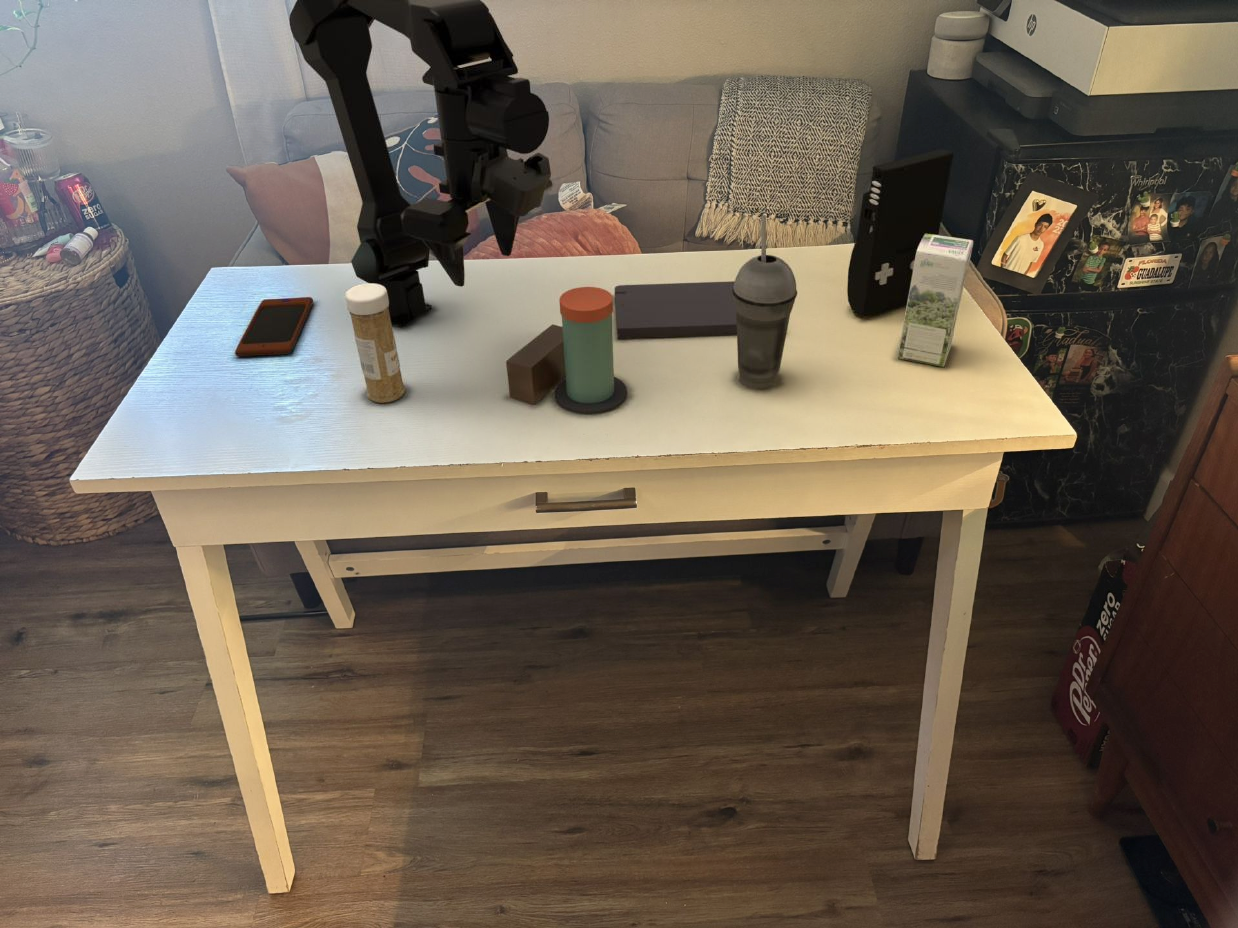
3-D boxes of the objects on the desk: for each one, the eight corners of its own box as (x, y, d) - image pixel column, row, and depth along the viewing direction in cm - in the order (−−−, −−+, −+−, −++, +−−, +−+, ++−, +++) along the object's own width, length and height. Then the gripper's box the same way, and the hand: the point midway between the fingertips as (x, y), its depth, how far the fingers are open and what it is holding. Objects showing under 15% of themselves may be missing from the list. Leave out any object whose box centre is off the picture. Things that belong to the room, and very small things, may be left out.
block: (509, 397, 110) (505, 360, 107) (554, 359, 117) (552, 324, 114) (534, 405, 108) (531, 367, 105) (578, 366, 115) (576, 330, 112)
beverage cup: (749, 401, 108) (761, 237, 96) (715, 373, 113) (722, 214, 101) (801, 385, 110) (818, 223, 98) (765, 358, 116) (778, 202, 104)
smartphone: (312, 295, 130) (289, 348, 118) (314, 301, 131) (291, 354, 119) (261, 298, 130) (233, 351, 118) (263, 304, 130) (235, 357, 118)
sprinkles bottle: (411, 396, 110) (392, 292, 102) (375, 408, 108) (353, 303, 100) (396, 380, 113) (377, 278, 105) (360, 391, 111) (338, 288, 103)
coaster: (540, 403, 108) (540, 400, 108) (578, 369, 114) (578, 366, 114) (604, 421, 105) (604, 418, 105) (640, 386, 111) (640, 383, 111)
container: (509, 339, 107) (570, 284, 99) (537, 318, 112) (598, 263, 103) (578, 422, 109) (644, 375, 100) (603, 398, 113) (669, 351, 105)
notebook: (617, 339, 120) (781, 333, 121) (617, 328, 119) (782, 322, 120) (614, 295, 131) (765, 290, 131) (614, 285, 130) (766, 279, 130)
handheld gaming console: (863, 322, 123) (885, 172, 111) (840, 309, 126) (859, 161, 114) (930, 300, 127) (958, 153, 116) (906, 287, 131) (931, 144, 119)
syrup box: (951, 347, 117) (975, 237, 108) (943, 369, 113) (967, 257, 104) (905, 338, 119) (925, 230, 110) (896, 360, 115) (915, 249, 106)
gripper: (477, 171, 89) (494, 318, 98) (578, 118, 102) (584, 252, 111) (386, 155, 93) (411, 297, 102) (494, 106, 106) (507, 236, 115)
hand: (483, 270), depth 108 cm, fingers open, 9 cm apart
